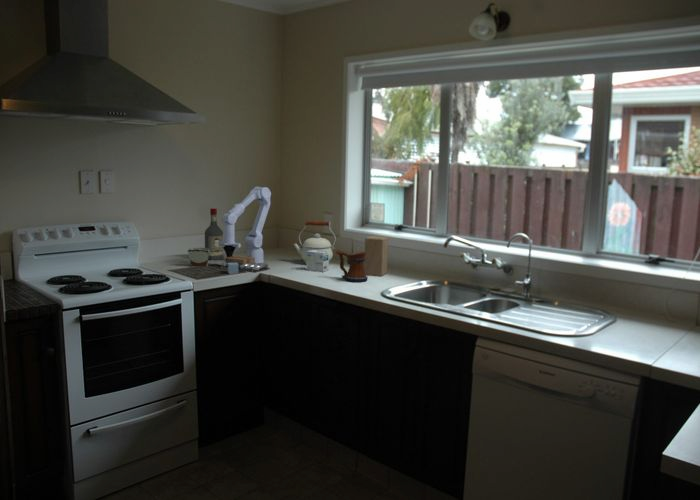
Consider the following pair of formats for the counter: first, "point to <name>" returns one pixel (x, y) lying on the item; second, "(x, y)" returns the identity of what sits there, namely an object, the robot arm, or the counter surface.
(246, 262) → the slab
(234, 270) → the block
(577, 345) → the counter surface
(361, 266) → the mug
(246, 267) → the roller track
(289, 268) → the counter surface
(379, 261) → the wooden block
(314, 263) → the light bulb box
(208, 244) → the liquor
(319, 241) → the kettle
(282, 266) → the counter surface
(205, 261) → the food container
